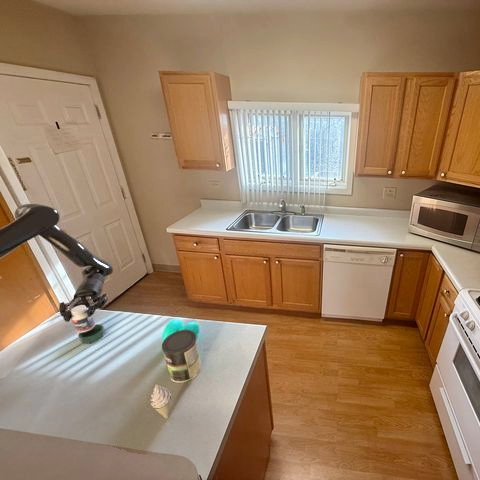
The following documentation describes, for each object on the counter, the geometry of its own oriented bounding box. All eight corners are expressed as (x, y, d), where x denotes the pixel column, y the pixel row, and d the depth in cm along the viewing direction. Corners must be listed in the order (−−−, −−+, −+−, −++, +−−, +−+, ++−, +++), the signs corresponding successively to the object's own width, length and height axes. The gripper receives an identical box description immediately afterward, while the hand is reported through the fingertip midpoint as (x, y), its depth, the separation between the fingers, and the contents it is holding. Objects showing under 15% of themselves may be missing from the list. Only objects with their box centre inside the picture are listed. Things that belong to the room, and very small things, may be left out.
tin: (77, 346, 98) (74, 340, 97) (85, 332, 104) (83, 326, 103) (101, 341, 101) (99, 335, 100) (108, 328, 107) (105, 322, 106)
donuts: (187, 354, 97) (182, 335, 93) (163, 350, 98) (158, 330, 94) (202, 335, 106) (198, 316, 102) (180, 332, 107) (176, 313, 103)
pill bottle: (73, 334, 90) (64, 314, 87) (81, 324, 95) (73, 304, 91) (91, 331, 92) (83, 312, 88) (98, 321, 96) (90, 303, 93)
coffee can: (173, 389, 84) (165, 358, 78) (166, 367, 91) (158, 338, 86) (205, 372, 90) (200, 342, 85) (197, 353, 97) (191, 325, 92)
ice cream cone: (155, 417, 76) (143, 383, 70) (173, 406, 79) (163, 372, 73) (160, 430, 73) (148, 396, 67) (179, 418, 76) (169, 384, 70)
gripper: (61, 287, 97) (45, 314, 83) (109, 279, 103) (101, 303, 90) (68, 303, 100) (54, 332, 86) (114, 294, 106) (107, 319, 93)
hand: (78, 317), depth 88 cm, fingers closed on pill bottle, 5 cm apart
